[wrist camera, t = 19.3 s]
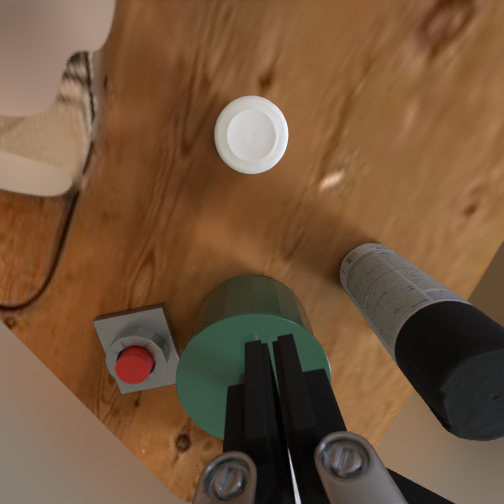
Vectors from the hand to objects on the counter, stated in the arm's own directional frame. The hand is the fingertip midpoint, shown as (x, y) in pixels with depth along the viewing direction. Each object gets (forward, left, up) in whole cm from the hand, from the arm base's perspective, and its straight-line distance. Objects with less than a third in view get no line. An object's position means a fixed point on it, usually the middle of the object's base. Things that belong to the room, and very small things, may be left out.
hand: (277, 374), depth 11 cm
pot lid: (+12, -3, -15) cm, 20 cm away
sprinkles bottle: (-8, +1, -25) cm, 27 cm away
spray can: (+8, +11, -25) cm, 29 cm away
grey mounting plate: (+12, -16, -25) cm, 32 cm away
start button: (+12, -16, -22) cm, 30 cm away
